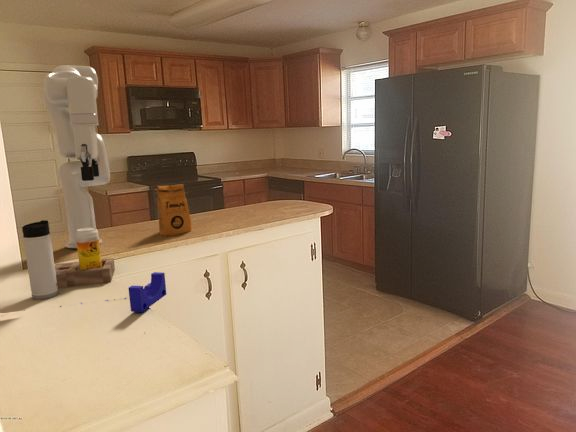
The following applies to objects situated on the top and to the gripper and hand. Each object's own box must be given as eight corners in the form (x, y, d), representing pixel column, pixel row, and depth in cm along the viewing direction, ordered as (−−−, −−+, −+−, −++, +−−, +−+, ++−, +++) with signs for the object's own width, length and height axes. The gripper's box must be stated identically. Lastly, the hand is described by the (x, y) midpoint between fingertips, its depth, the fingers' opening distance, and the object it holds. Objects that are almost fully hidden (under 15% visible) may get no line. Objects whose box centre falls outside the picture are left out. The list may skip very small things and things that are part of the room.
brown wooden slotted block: (57, 276, 138) (55, 264, 137) (115, 270, 142) (113, 258, 142) (47, 289, 127) (46, 275, 126) (110, 282, 131) (109, 268, 130)
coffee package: (193, 239, 182) (189, 184, 178) (162, 242, 177) (157, 187, 173) (189, 234, 191) (185, 182, 187) (159, 238, 186) (154, 184, 182)
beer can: (89, 282, 131) (83, 232, 129) (77, 279, 135) (70, 230, 132) (107, 276, 136) (101, 227, 134) (95, 273, 140) (89, 226, 137)
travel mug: (64, 292, 124) (55, 220, 120) (44, 300, 118) (33, 225, 114) (47, 290, 126) (37, 219, 122) (26, 298, 120) (15, 224, 116)
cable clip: (151, 293, 120) (148, 272, 119) (166, 294, 119) (164, 272, 118) (125, 311, 109) (122, 287, 108) (142, 312, 108) (139, 288, 107)
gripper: (76, 120, 140) (83, 175, 144) (63, 120, 124) (71, 182, 128) (102, 120, 142) (108, 174, 146) (93, 120, 126) (99, 181, 129)
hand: (91, 178), depth 137 cm, fingers open, 9 cm apart
